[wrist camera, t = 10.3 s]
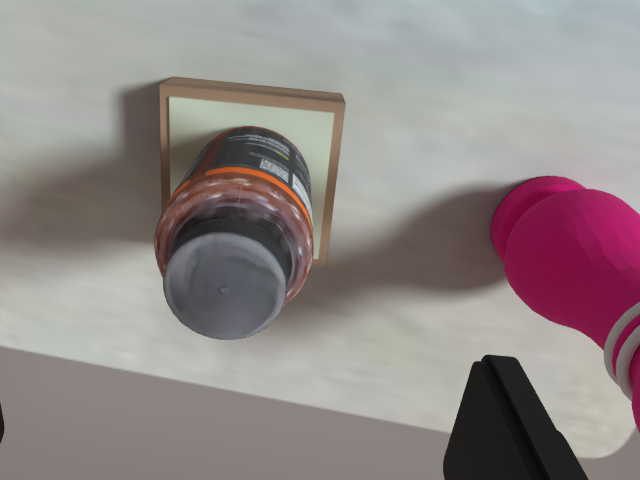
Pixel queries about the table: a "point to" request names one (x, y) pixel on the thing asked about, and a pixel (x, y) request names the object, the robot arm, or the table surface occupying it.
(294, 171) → the supplement bottle
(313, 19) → the table surface
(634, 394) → the pepper mill
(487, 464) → the robot arm
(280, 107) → the base
